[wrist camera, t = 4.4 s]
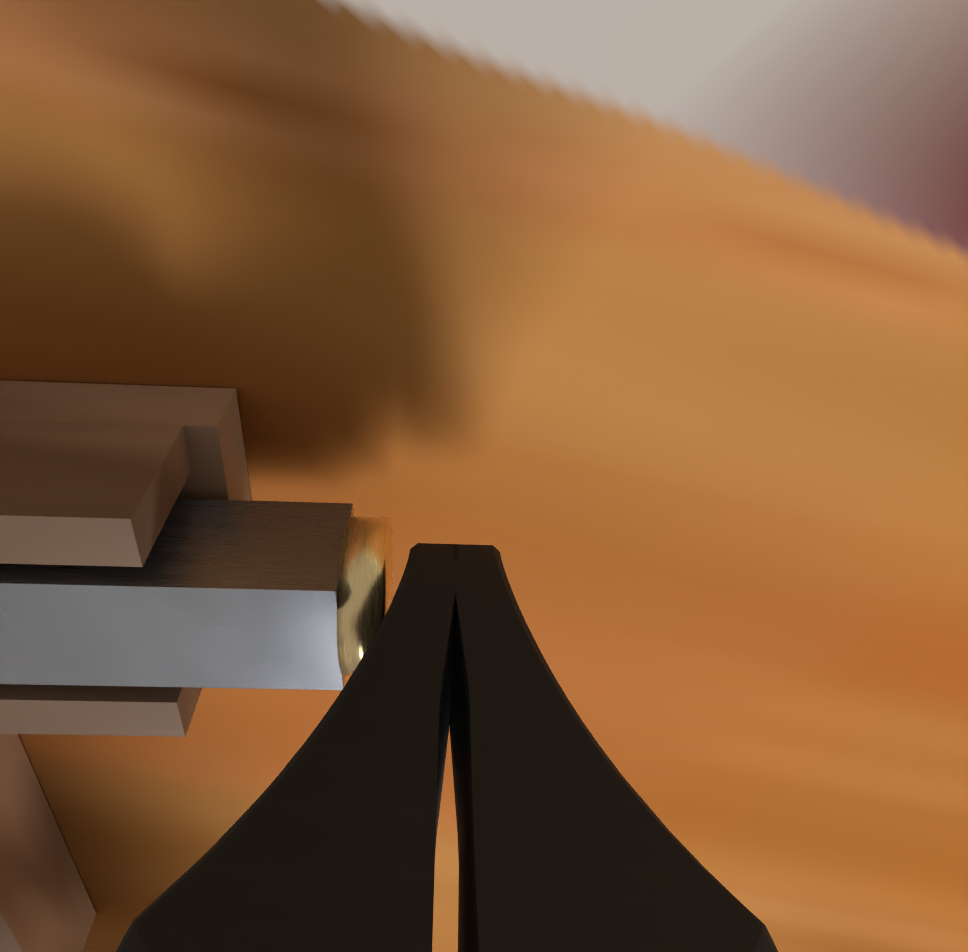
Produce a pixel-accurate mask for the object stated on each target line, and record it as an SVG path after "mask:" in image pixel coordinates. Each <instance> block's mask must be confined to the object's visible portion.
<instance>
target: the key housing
mask: <svg viewBox="0 0 968 952" xmlns="http://www.w3.org/2000/svg"><path fill="white" fill-rule="evenodd" d="M177 499H208V500H243V501H252V499H251V492H250V484H249V477H248V470H247V463H246V456H245V449H244V442H243V435H242V428H241V421H240V414H239V407H238V400H237V392H236V388H207V387H179V386H150V385H121V384H93V383H64V382H35V381H6V380H0V564H41V565H82V566H123V567H143V565H144V563H145V561H146V559H147V557H148V555H149V553H150V551H151V549H152V547H153V545H154V543H155V541H156V539H157V537H158V535H159V533H160V531H161V529H162V527H163V525H164V523H165V521H166V519H167V517H168V515H169V513H170V511H171V509H172V507H173V505H174V504H175V502H176V500H177ZM201 689H202V688H199V687H142V686H86V685H29V684H0V734H52V735H119V736H186V733H187V730H188V727H189V724H190V721H191V718H192V715H193V713H194V710H195V707H196V704H197V701H198V698H199V695H200V692H201Z"/></svg>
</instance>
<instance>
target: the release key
mask: <svg viewBox="0 0 968 952" xmlns="http://www.w3.org/2000/svg"><path fill="white" fill-rule="evenodd" d="M392 589H393V532H392V522H391V518H386V517H353V504H348V503H313V502H278V501H243V500H208V499H177V500H176V502H175V504H174V505H173V507H172V509H171V511H170V513H169V515H168V517H167V519H166V521H165V523H164V525H163V527H162V529H161V531H160V533H159V535H158V537H157V539H156V541H155V543H154V545H153V547H152V549H151V551H150V553H149V555H148V557H147V559H146V561H145V563H144V565H143V567H123V566H82V565H41V564H0V684H29V685H86V686H142V687H199V688H255V689H311V690H343V687H344V681H345V675H350V676H351V675H352V674H353V672H354V670H355V669H356V667H357V665H358V664H359V662H360V660H361V659H362V657H363V655H364V654H365V652H366V651H367V649H368V647H369V645H370V644H371V642H372V640H373V638H374V636H375V634H376V632H377V630H378V628H379V626H380V624H381V622H382V620H383V619H384V617H385V615H386V613H387V611H388V609H389V607H390V605H391V602H392Z"/></svg>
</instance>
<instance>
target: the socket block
mask: <svg viewBox="0 0 968 952" xmlns="http://www.w3.org/2000/svg"><path fill="white" fill-rule="evenodd" d="M95 917H96V912H95V910H94V907H93V905H92V903H91V900H90V898H89V896H88V894H87V891H86V889H85V887H84V884H83V882H82V880H81V878H80V875H79V873H78V871H77V868H76V866H75V864H74V862H73V859H72V857H71V855H70V852H69V850H68V848H67V846H66V843H65V841H64V839H63V836H62V834H61V832H60V830H59V827H58V825H57V823H56V820H55V818H54V816H53V814H52V811H51V809H50V807H49V804H48V802H47V800H46V798H45V795H44V793H43V791H42V788H41V786H40V784H39V781H38V779H37V777H36V775H35V772H34V770H33V768H32V765H31V763H30V761H29V759H28V756H27V754H26V752H25V749H24V747H23V745H22V743H21V740H20V738H19V736H18V734H0V952H83V949H84V946H85V944H86V941H87V938H88V936H89V933H90V930H91V928H92V925H93V922H94V920H95Z"/></svg>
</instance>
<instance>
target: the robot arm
mask: <svg viewBox="0 0 968 952" xmlns="http://www.w3.org/2000/svg"><path fill="white" fill-rule="evenodd" d="M449 725H450V738H451V752H452V765H453V778H454V791H455V804H456V817H457V830H458V852H459V911H458V952H778V950H777V948H776V946H775V944H774V942H773V940H772V938H771V936H770V934H769V932H768V930H767V928H766V926H765V925H764V924H763V923H762V922H761V921H760V920H759V919H758V918H757V917H756V916H755V915H753V914H752V913H751V912H750V911H749V910H748V909H747V908H746V907H745V906H744V905H743V904H742V903H741V902H740V901H738V900H737V899H736V898H735V897H734V896H733V895H732V894H731V893H730V892H729V891H728V890H727V889H726V888H725V887H724V886H723V885H722V884H721V883H720V882H719V881H718V880H717V879H716V878H715V877H714V876H713V875H712V874H711V873H709V872H708V871H707V870H706V869H705V868H704V867H703V866H702V865H701V864H700V862H699V861H698V860H697V859H696V858H695V857H694V856H693V855H692V854H691V853H690V852H689V851H688V850H687V849H686V848H685V847H684V846H683V845H682V844H681V843H680V841H679V840H678V839H677V838H676V837H675V836H674V835H673V834H672V833H671V832H670V831H669V830H668V829H667V828H666V826H665V825H664V824H663V823H662V822H661V821H660V819H659V818H658V817H657V816H656V815H655V813H654V812H653V811H652V810H651V809H650V808H649V806H648V805H647V804H646V803H645V802H644V801H643V799H642V798H641V797H640V796H639V795H638V794H637V792H636V791H635V790H634V789H633V788H632V787H631V785H630V784H629V783H628V782H627V781H626V780H625V778H624V777H623V776H622V775H621V773H620V772H619V771H618V769H617V768H616V767H615V765H614V764H613V763H612V762H611V760H610V759H609V758H608V756H607V755H606V754H605V752H604V751H603V750H602V748H601V747H600V746H599V744H598V743H597V741H596V740H595V739H594V737H593V736H592V734H591V733H590V731H589V730H588V729H587V727H586V726H585V724H584V723H583V721H582V720H581V718H580V717H579V715H578V714H577V712H576V711H575V709H574V708H573V706H572V705H571V703H570V701H569V700H568V698H567V697H566V695H565V693H564V692H563V690H562V688H561V687H560V685H559V683H558V682H557V680H556V678H555V677H554V675H553V673H552V672H551V670H550V668H549V666H548V664H547V663H546V661H545V659H544V657H543V655H542V654H541V652H540V650H539V648H538V646H537V644H536V642H535V640H534V638H533V636H532V634H531V632H530V630H529V628H528V626H527V624H526V622H525V620H524V617H523V615H522V613H521V611H520V609H519V606H518V604H517V602H516V599H515V597H514V594H513V592H512V590H511V587H510V584H509V582H508V579H507V576H506V573H505V570H504V567H503V564H502V560H501V556H500V552H499V551H498V550H497V549H496V548H495V547H494V546H493V545H461V544H426V543H418V544H416V545H415V546H414V547H412V548H411V549H410V554H409V558H408V562H407V565H406V568H405V571H404V574H403V576H402V579H401V582H400V584H399V587H398V589H397V591H396V593H395V596H394V598H393V600H392V602H391V605H390V607H389V609H388V611H387V613H386V615H385V617H384V619H383V620H382V622H381V624H380V626H379V628H378V630H377V632H376V634H375V636H374V638H373V640H372V642H371V644H370V645H369V647H368V649H367V651H366V652H365V654H364V655H363V657H362V659H361V660H360V662H359V664H358V665H357V667H356V669H355V670H354V672H353V674H352V675H351V677H350V679H349V680H348V682H347V684H346V685H345V687H344V688H343V690H342V691H341V693H340V694H339V696H338V697H337V699H336V700H335V702H334V703H333V705H332V706H331V708H330V709H329V710H328V712H327V713H326V715H325V716H324V717H323V719H322V720H321V722H320V723H319V724H318V726H317V727H316V728H315V730H314V731H313V732H312V734H311V735H310V737H309V738H308V739H307V740H306V742H305V743H304V744H303V745H302V747H301V748H300V749H299V750H298V752H297V753H296V754H295V755H294V757H293V758H292V759H291V760H290V762H289V763H288V764H287V765H286V767H285V768H284V769H283V770H282V772H281V773H280V774H279V775H278V776H277V778H276V779H275V780H274V781H273V782H272V783H271V785H270V786H269V787H268V788H267V789H266V790H265V791H264V793H263V794H262V795H261V796H260V797H259V798H258V799H257V800H256V801H255V802H254V803H253V805H252V806H251V807H250V808H249V809H248V810H247V811H246V812H245V813H244V814H243V815H242V816H241V817H240V818H239V819H238V820H237V821H236V823H235V824H234V825H233V826H232V827H231V828H230V829H229V830H228V831H227V832H226V833H225V834H224V835H223V836H222V837H221V838H220V839H219V841H218V842H217V843H216V844H215V845H214V846H213V847H212V848H211V849H210V850H209V851H208V852H207V853H206V854H205V855H204V856H203V857H202V858H201V859H200V860H199V861H197V862H196V863H195V864H194V865H193V866H192V867H191V868H190V869H189V870H188V871H187V872H186V873H184V874H183V875H182V876H181V877H180V878H179V879H178V880H177V881H176V882H175V883H174V884H173V885H171V886H170V887H169V888H168V889H167V890H166V891H165V892H164V893H163V894H162V895H161V896H159V897H158V898H157V899H156V900H155V901H154V902H153V903H152V904H151V905H150V906H149V907H148V908H146V909H145V910H144V911H143V912H142V913H141V914H140V915H139V916H138V917H137V918H136V919H135V920H134V921H133V923H132V924H131V926H130V928H129V929H128V931H127V933H126V935H125V936H124V938H123V940H122V942H121V944H120V945H119V947H118V949H117V951H116V952H432V931H433V898H434V865H435V847H436V835H437V826H438V818H439V809H440V801H441V792H442V784H443V775H444V767H445V758H446V750H447V741H448V733H449Z"/></svg>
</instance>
